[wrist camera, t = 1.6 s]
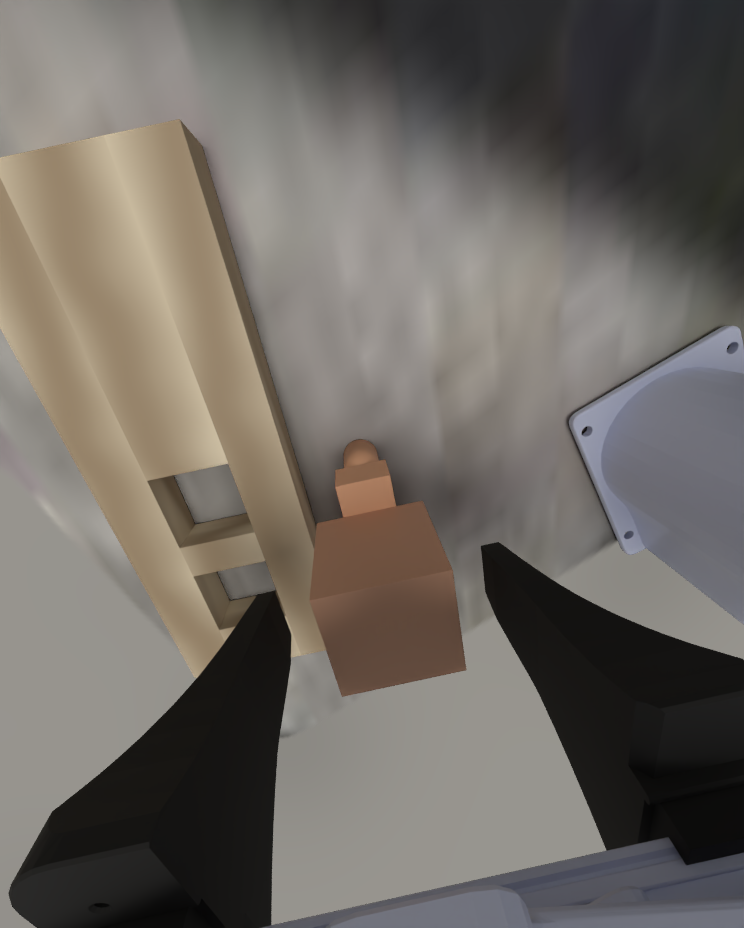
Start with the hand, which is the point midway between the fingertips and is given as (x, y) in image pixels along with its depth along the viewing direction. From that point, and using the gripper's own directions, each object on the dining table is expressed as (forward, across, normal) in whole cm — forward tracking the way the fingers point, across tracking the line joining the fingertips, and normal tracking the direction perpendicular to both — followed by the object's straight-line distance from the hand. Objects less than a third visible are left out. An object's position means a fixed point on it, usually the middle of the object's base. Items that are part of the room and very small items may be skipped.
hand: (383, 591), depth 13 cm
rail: (+6, +7, -4) cm, 10 cm away
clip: (+6, 0, 0) cm, 7 cm away
